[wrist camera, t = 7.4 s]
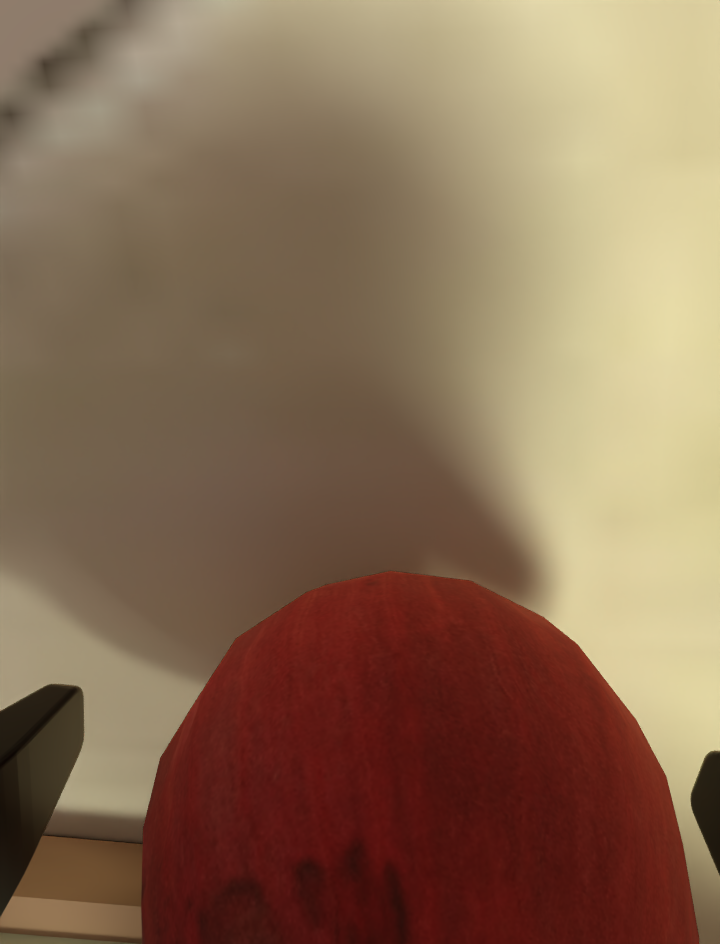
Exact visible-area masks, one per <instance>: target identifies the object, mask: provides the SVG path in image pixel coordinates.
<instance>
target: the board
mask: <svg viewBox="0 0 720 944" xmlns="http://www.w3.org/2000/svg"><path fill="white" fill-rule="evenodd" d="M142 850H143V844H134V843H123V842H111V841H100V840H89V839H77V838H66V837H55V836H43V835H42V837H41V840H40V842H39V844H38V846H37V848H36V851H35V853H34V855H33V857H32V859H31V861H30V863H29V865H28V867H27V870H26V872H25V874H24V876H23V877H22V879H21V881H20V883H19V885H18V887H17V888H16V890H15V892H14V894H13V896H12V898H11V899H10V901H9V903H8V905H7V906H6V908H5V910H4V912H3V914H2V915H1V917H0V944H142V920H141V890H142Z"/></svg>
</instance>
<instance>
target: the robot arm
mask: <svg viewBox="0 0 720 944" xmlns="http://www.w3.org/2000/svg"><path fill="white" fill-rule="evenodd" d="M83 740H84V698H83V692H82V689H81V688H80V687H78V686H74V685H64V684H49V685H47V686H44V687H43V688H41V689H39V690H37V691H35V692H34V693H32V694H30V695H28V696H26V697H25V698H23V699H21V700H19V701H17V702H16V703H14V704H12V705H10V706H8V707H7V708H5V709H3V710H1V711H0V917H1V915H2V914H3V912H4V910H5V908H6V906H7V905H8V903H9V901H10V899H11V898H12V896H13V894H14V892H15V890H16V888H17V887H18V885H19V883H20V881H21V879H22V877H23V876H24V874H25V872H26V870H27V867H28V865H29V863H30V861H31V859H32V857H33V855H34V853H35V851H36V848H37V846H38V844H39V842H40V840H41V837H42V835H43V833H44V831H45V829H46V826H47V824H48V822H49V820H50V818H51V815H52V813H53V811H54V809H55V807H56V804H57V802H58V800H59V798H60V796H61V793H62V791H63V789H64V787H65V784H66V782H67V780H68V778H69V776H70V773H71V771H72V769H73V767H74V765H75V762H76V760H77V758H78V756H79V753H80V751H81V748H82V744H83ZM691 806H692V810H693V813H694V816H695V818H696V821H697V823H698V826H699V828H700V830H701V833H702V835H703V837H704V840H705V842H706V844H707V847H708V849H709V851H710V854H711V856H712V859H713V861H714V863H715V866H716V868H717V870H718V873H719V875H720V751H711V752H709V753H708V754H707V755H706V756H705V758H704V761H703V763H702V766H701V769H700V771H699V774H698V776H697V779H696V781H695V784H694V787H693V789H692V792H691Z"/></svg>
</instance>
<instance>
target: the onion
mask: <svg viewBox="0 0 720 944" xmlns="http://www.w3.org/2000/svg"><path fill="white" fill-rule="evenodd" d="M141 920H142V944H699V935H698V929H697V923H696V918H695V912H694V906H693V900H692V895H691V889H690V883H689V877H688V872H687V866H686V860H685V854H684V849H683V843H682V839H681V835H680V831H679V827H678V823H677V819H676V814H675V810H674V806H673V802H672V798H671V794H670V790H669V786H668V782H667V777H666V775H665V773H664V771H663V770H662V768H661V766H660V764H659V762H658V760H657V758H656V756H655V754H654V753H653V751H652V749H651V747H650V745H649V743H648V741H647V739H646V738H645V736H644V734H643V732H642V730H641V728H640V726H639V724H638V723H637V721H636V719H635V718H634V716H633V715H632V714H631V713H630V711H629V710H628V709H627V707H626V706H625V705H624V704H623V702H622V701H621V700H620V698H619V697H618V696H617V695H616V693H615V692H614V691H613V689H612V688H611V687H610V686H609V684H608V683H607V682H606V680H605V679H604V678H603V677H602V675H601V674H600V673H599V671H598V670H597V669H596V668H595V666H594V665H593V664H592V662H591V661H590V660H589V658H588V657H587V656H586V655H585V653H584V652H583V651H582V649H581V648H580V647H579V646H578V644H576V643H575V642H574V641H573V640H571V639H570V638H569V637H568V636H566V635H565V634H564V633H563V632H561V631H560V630H559V629H558V628H556V627H555V626H554V625H553V624H551V623H550V622H549V621H548V620H546V619H545V618H544V617H542V616H540V615H538V614H536V613H534V612H532V611H530V610H528V609H526V608H524V607H522V606H520V605H518V604H516V603H514V602H512V601H510V600H508V599H506V598H504V597H502V596H500V595H498V594H496V593H494V592H492V591H490V590H488V589H486V588H484V587H482V586H480V585H478V584H476V583H474V582H472V581H469V580H461V579H453V578H445V577H436V576H428V575H420V574H412V573H403V572H395V571H388V572H383V573H378V574H374V575H369V576H364V577H360V578H355V579H350V580H346V581H341V582H336V583H332V584H327V585H324V586H322V587H319V588H316V589H314V590H311V591H308V592H306V593H305V594H303V595H302V596H300V597H299V598H297V599H295V600H294V601H292V602H291V603H289V604H288V605H286V606H285V607H283V608H282V609H280V610H279V611H277V612H276V613H274V614H273V615H271V616H270V617H268V618H266V619H265V620H263V621H262V622H260V623H259V624H257V625H256V626H254V627H253V628H251V629H250V630H248V631H247V632H245V633H244V634H242V635H241V636H239V637H237V638H236V639H235V641H234V642H233V644H232V645H231V647H230V649H229V650H228V652H227V653H226V655H225V656H224V658H223V659H222V661H221V662H220V664H219V666H218V667H217V669H216V670H215V672H214V673H213V675H212V676H211V678H210V679H209V681H208V683H207V684H206V686H205V687H204V689H203V690H202V692H201V693H200V695H199V696H198V698H197V700H196V701H195V703H194V704H193V706H192V707H191V709H190V711H189V712H188V714H187V716H186V717H185V719H184V720H183V722H182V724H181V725H180V727H179V729H178V730H177V732H176V733H175V735H174V737H173V738H172V740H171V741H170V743H169V745H168V746H167V748H166V750H165V751H164V753H163V754H162V756H161V758H160V761H159V765H158V769H157V773H156V777H155V782H154V786H153V790H152V794H151V798H150V802H149V806H148V810H147V814H146V818H145V822H144V826H143V850H142V890H141Z"/></svg>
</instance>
